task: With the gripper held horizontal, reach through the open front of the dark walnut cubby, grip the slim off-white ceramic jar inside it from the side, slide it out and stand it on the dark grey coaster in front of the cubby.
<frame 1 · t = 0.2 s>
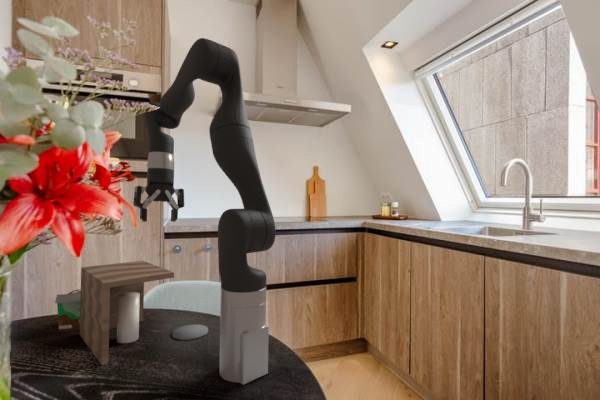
hand: (159, 221, 96), 28 cm above the table, tool pointing down, fingers open, 8 cm apart
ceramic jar: (127, 339, 79), on the table
walnut cubby: (125, 339, 79), on the table
food container: (83, 325, 87), on the table
grey coaster: (190, 332, 83), on the table
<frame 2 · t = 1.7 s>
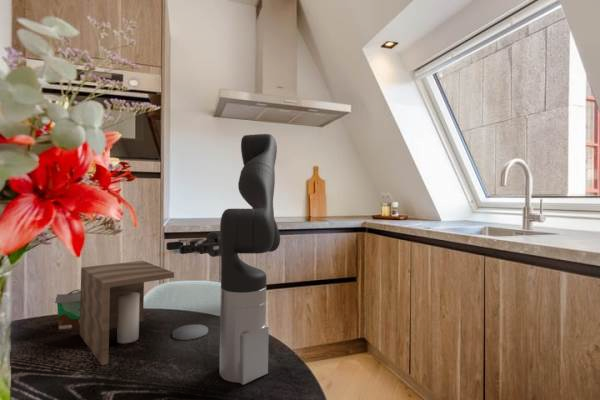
hand: (173, 248, 87), 22 cm above the table, tool horizontal, fingers open, 8 cm apart
nothing on the table moved.
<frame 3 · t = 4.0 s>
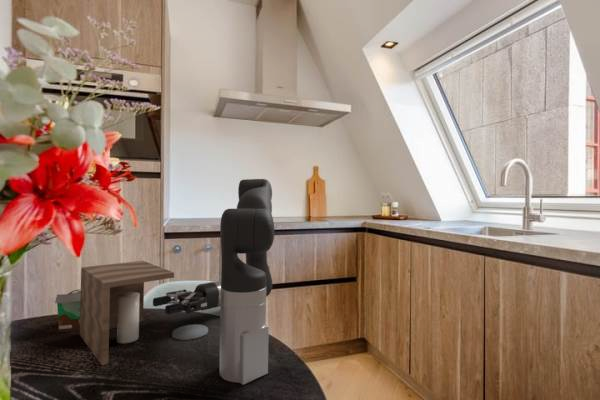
hand: (159, 306, 84), 7 cm above the table, tool horizontal, fingers open, 8 cm apart
nothing on the table moved.
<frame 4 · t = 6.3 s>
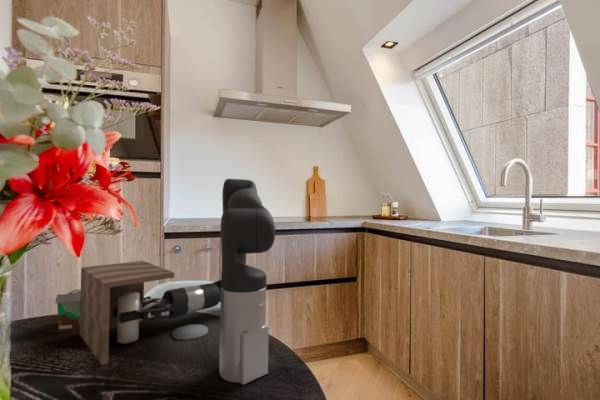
hand: (116, 315, 77), 7 cm above the table, tool horizontal, fingers closed on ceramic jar, 4 cm apart
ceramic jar: (127, 339, 79), on the table, touching gripper
everything else where it was.
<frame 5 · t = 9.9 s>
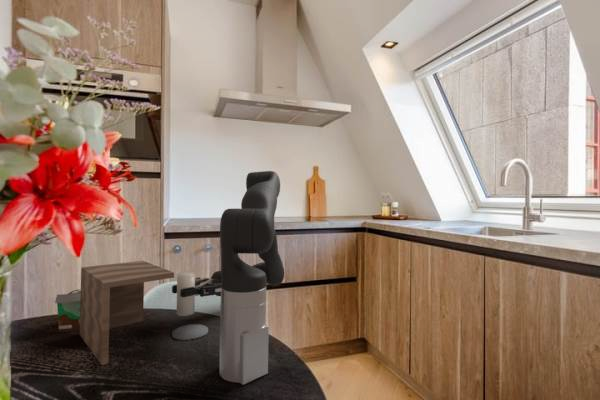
hand: (176, 291, 88), 10 cm above the table, tool horizontal, fingers closed on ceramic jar, 4 cm apart
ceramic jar: (185, 312, 89), point 3 cm above the table, touching gripper
everything else where it was.
when the fingers open (8 cm above the table, at t = 13.4 s): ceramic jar stays where it is, resting on grey coaster.
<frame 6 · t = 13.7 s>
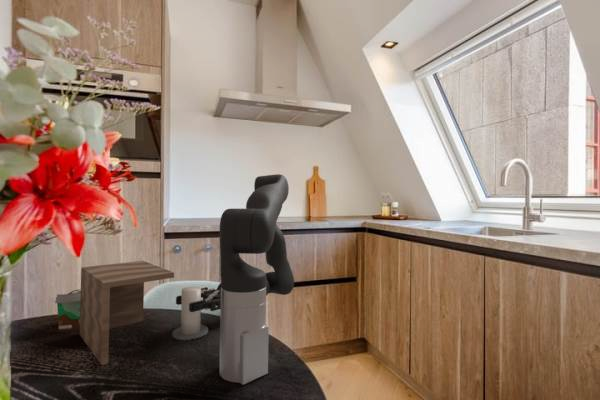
hand: (183, 304, 82), 8 cm above the table, tool horizontal, fingers open, 7 cm apart
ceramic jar: (190, 330, 83), point 1 cm above the table, touching grey coaster
everything else where it was.
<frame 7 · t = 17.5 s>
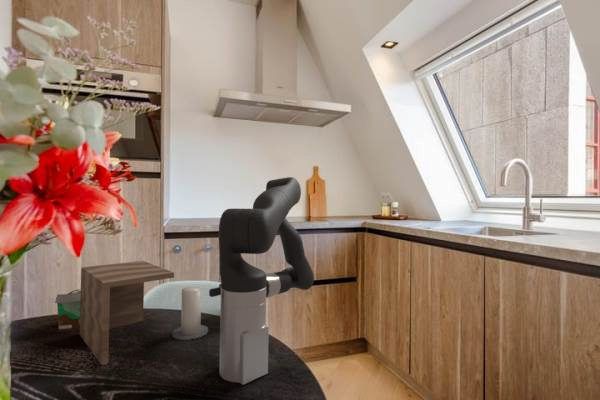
hand: (217, 296, 89), 8 cm above the table, tool horizontal, fingers open, 8 cm apart
nothing on the table moved.
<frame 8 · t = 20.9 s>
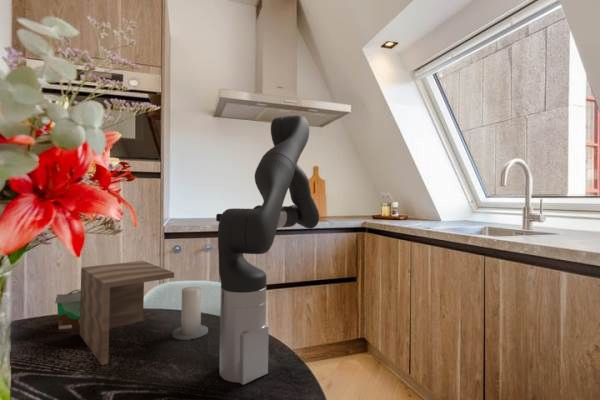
hand: (224, 218, 89), 30 cm above the table, tool horizontal, fingers open, 8 cm apart
nothing on the table moved.
at the end: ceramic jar 0.1 cm from the grey coaster (horizontally); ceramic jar tilted 0°; the gripper is holding nothing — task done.
